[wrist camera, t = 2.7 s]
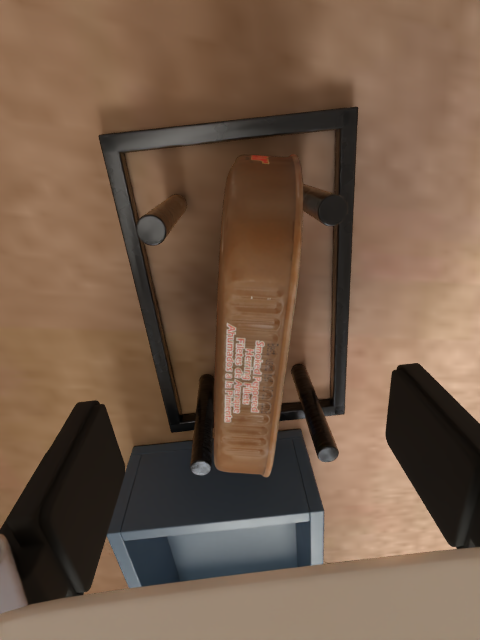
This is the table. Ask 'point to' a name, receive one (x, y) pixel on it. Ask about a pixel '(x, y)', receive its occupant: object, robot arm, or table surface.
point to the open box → (215, 516)
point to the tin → (255, 308)
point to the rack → (167, 214)
